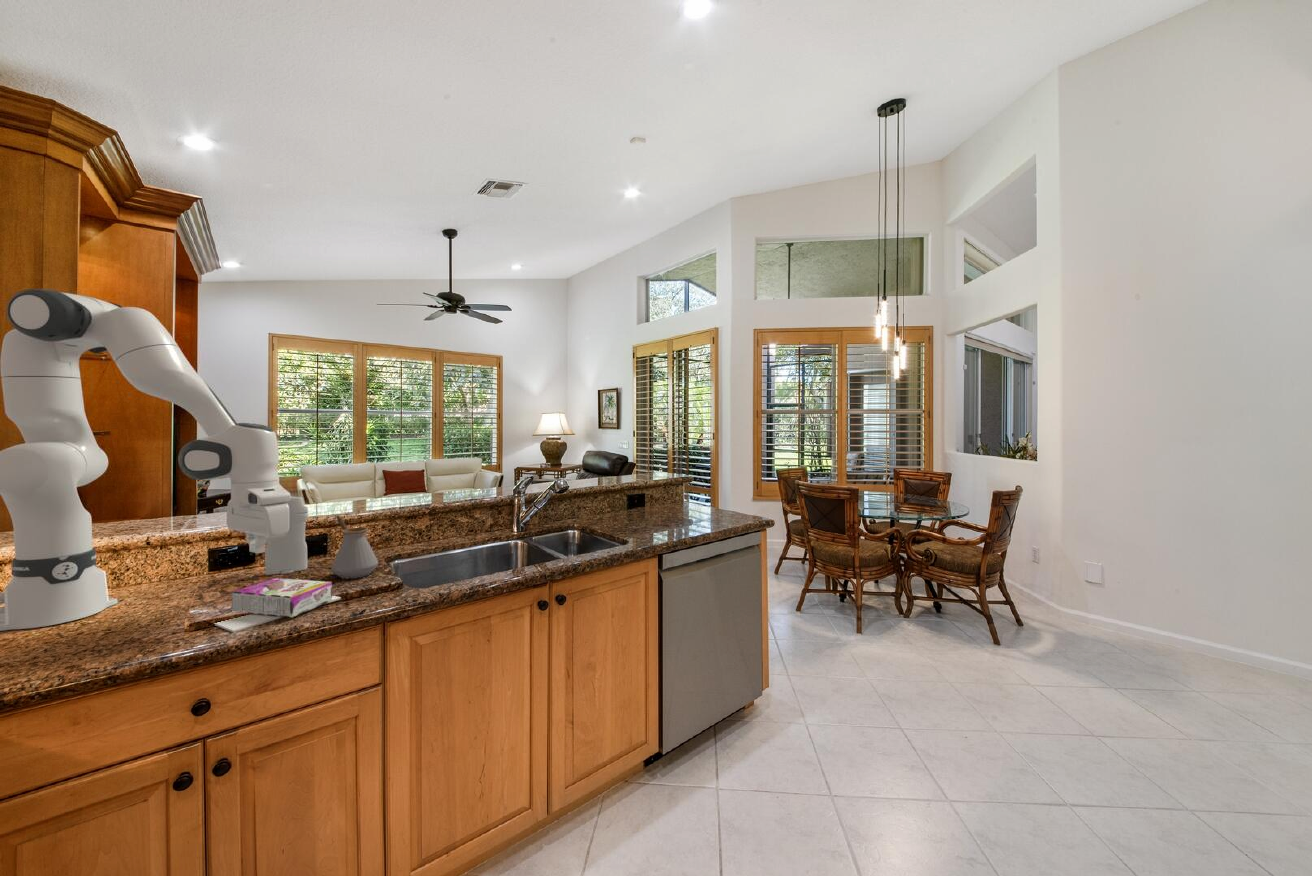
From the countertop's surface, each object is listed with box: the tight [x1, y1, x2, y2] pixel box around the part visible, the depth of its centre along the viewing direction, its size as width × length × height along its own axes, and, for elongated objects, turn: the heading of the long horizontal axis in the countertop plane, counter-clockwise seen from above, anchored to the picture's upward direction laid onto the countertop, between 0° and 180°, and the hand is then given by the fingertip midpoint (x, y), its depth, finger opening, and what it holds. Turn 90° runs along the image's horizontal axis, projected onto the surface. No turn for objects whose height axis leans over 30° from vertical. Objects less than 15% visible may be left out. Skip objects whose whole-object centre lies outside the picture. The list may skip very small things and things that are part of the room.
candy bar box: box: [231, 577, 333, 619], centre depth 118 cm, size 11×5×16 cm
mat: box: [214, 595, 342, 633], centre depth 117 cm, size 13×22×1 cm, turn 153°
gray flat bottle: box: [264, 495, 309, 576], centre depth 145 cm, size 11×4×22 cm, turn 130°
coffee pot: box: [330, 515, 379, 579], centre depth 147 cm, size 21×12×15 cm, turn 48°
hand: (257, 552), depth 117 cm, fingers closed
